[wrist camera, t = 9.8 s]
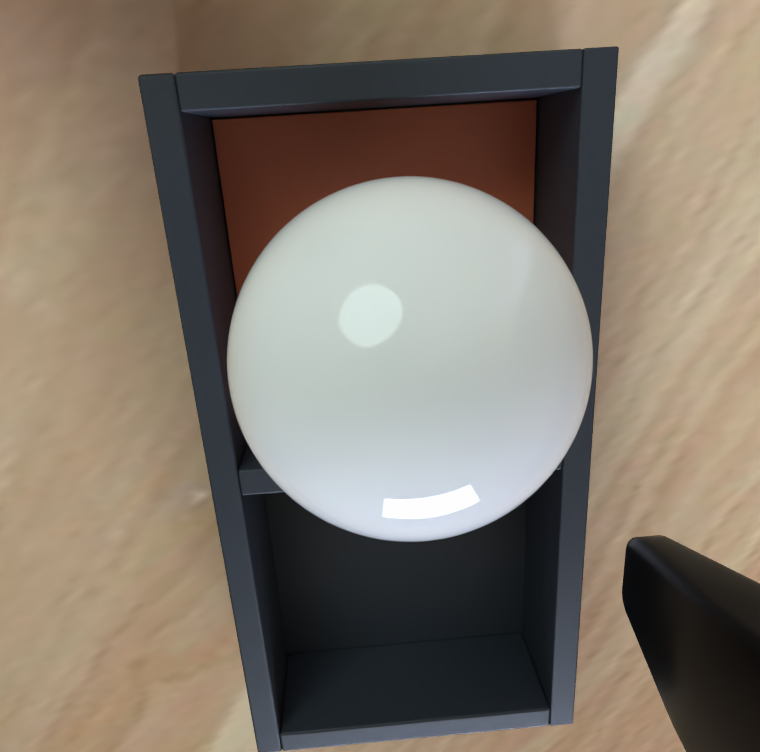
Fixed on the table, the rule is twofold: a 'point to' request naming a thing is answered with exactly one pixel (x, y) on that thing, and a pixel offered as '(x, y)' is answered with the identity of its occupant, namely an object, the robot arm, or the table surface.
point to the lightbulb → (409, 359)
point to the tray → (281, 513)
